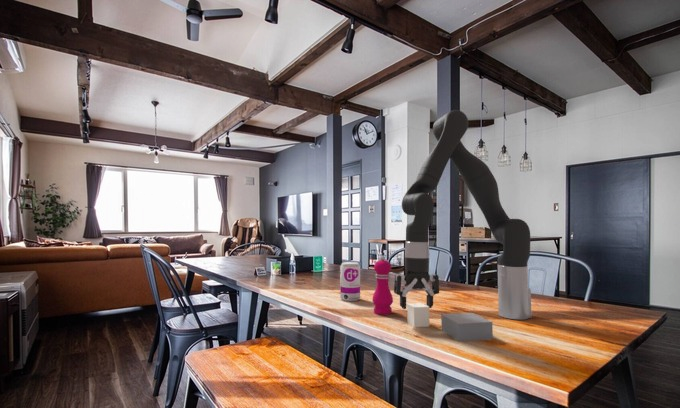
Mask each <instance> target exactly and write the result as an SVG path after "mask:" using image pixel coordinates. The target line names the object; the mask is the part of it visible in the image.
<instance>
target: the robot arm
mask: <svg viewBox="0 0 680 408" xmlns="http://www.w3.org/2000/svg"><path fill="white" fill-rule="evenodd" d="M432 125H433V126H432V132H433V135H434V138H435V139H436V140H437V142H436V145H435V146H434V147H433V149H432V150H431V152H430V153H429V155H428V156H427V157H426V159H425V161H424V162H423V164H422V166H421V168H420V169H419V170H420V171H419V173H418V174H417V176H416V179H415V181H414V182H413V183H412V184H411V186H409V188H408V189H407V190H406V192H405V193H404V195H403V197H402V200H401V209H402V212H403V213H404V214H405V215H407V216H414V217H413V221H412V222H410V223H408V224H406V227H405V246H404V274H395V275H394V285H393V293H394V294H395V295H397V296H399V306H400V307H401V308H402V309H403V310H407V294H408V293H409V292H411V290H412V289H413V290H416V289H419V290H424V291H425V292H426V305H427V306H429V309H432V308H433V306H434V296H435V295H439V293H440V283H439V282H440V280H439V277H440V276H439V275H438V274H436V273H432V274H429V273H430V244H429V227H430V225H431V221H432V219H433V218H432V217H433V214H434V210H435V209H434V206H435V205H434V199H433V198H432V196H431V195H430V193H432V192H434V191H435V190H436V189H437V188H438V185H439V183H440V181H441V178H442V175H443V173H444V171H445V168H447V164H448V162H449V161H450V160H451V161H452V162H451V163H453V165H454V167H455V168H456V170H457V172H458V173H459V175H460V176H461V179H462V180H463V183H464V184H465V185H466V187H467V189H468V191H469V192H470V194H471V196H472V197H473V199H474V201H475V202H476V204H477V205H478V207H479V209H480V211H481V213H482V214H483V216H484V218H485V220H486V223H487V225H488V228H489V229H490V231H491V234H492V236H493V238H494V240H495V241H496V242H498V243H499V244H502V245H503V252H502V253H501V255H499V256H498V257H497V290H498V291H497V294H498V296H497V297H498V298H497V299H498V300H497V301H498V308H497V309H498V316H499V317H501V318H505V319H511V320H519V321H520V320H523V321H524V320H529V319H530V318H531V319H532V291H531V290H532V289H531V288H529V276H528V274H529V273H528V271H529V270H528V261H529V260H530V256H531V230H530V227H529V225H528V223H527V222H526V221H524V220H523V219H520V218H510V217H509V216H508V214H507V213H506V211H505V209H504V208H503V206H502V202H501V201H500V193H499V192H500V191H499V187H498V182H497V180H496V178H495V176H494V175H493V173H492V171H491V169H490V167H489V166H488V165H487V164H486V163H485V162H484V161H483V160H482V159H480V158H479V157H478V156H476V155H474V154H473V153H472V152H471V151H469V150H468V149H467V147H465V146H464V144H463V142H462V141H461V140H462V138H463V137H464V135H465V134H466V132H467V130H468V128H469V119H468V117H467V115H466V113H464V112H463V111H462V110H459V109H453V110H450V111H448V112H447V113H445V114H444V115H442V116H441V117H440V118H438V119H437V120H435V121H434V123H433V124H432ZM429 280H430V281H431V286H430V284H429V283H428V282H429ZM403 281H405V282H404V284H403V285H402V283H403Z"/></svg>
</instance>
